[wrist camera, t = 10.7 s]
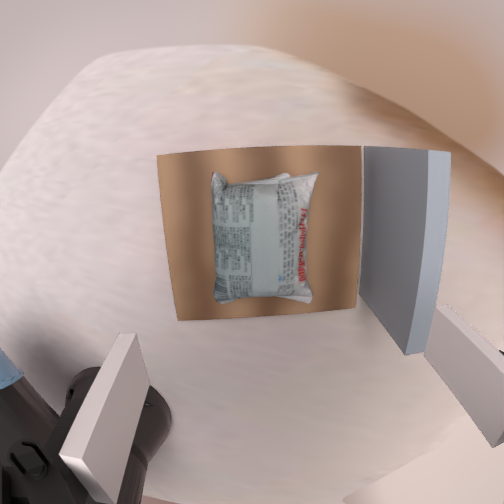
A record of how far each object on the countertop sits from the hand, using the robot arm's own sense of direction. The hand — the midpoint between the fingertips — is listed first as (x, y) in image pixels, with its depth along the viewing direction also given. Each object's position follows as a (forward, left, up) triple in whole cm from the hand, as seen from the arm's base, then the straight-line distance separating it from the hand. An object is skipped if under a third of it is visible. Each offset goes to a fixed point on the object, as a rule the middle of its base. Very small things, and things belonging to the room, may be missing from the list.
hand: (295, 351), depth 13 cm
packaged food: (0, 0, -17) cm, 17 cm away
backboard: (+12, 0, -20) cm, 23 cm away
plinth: (0, 0, -20) cm, 20 cm away
